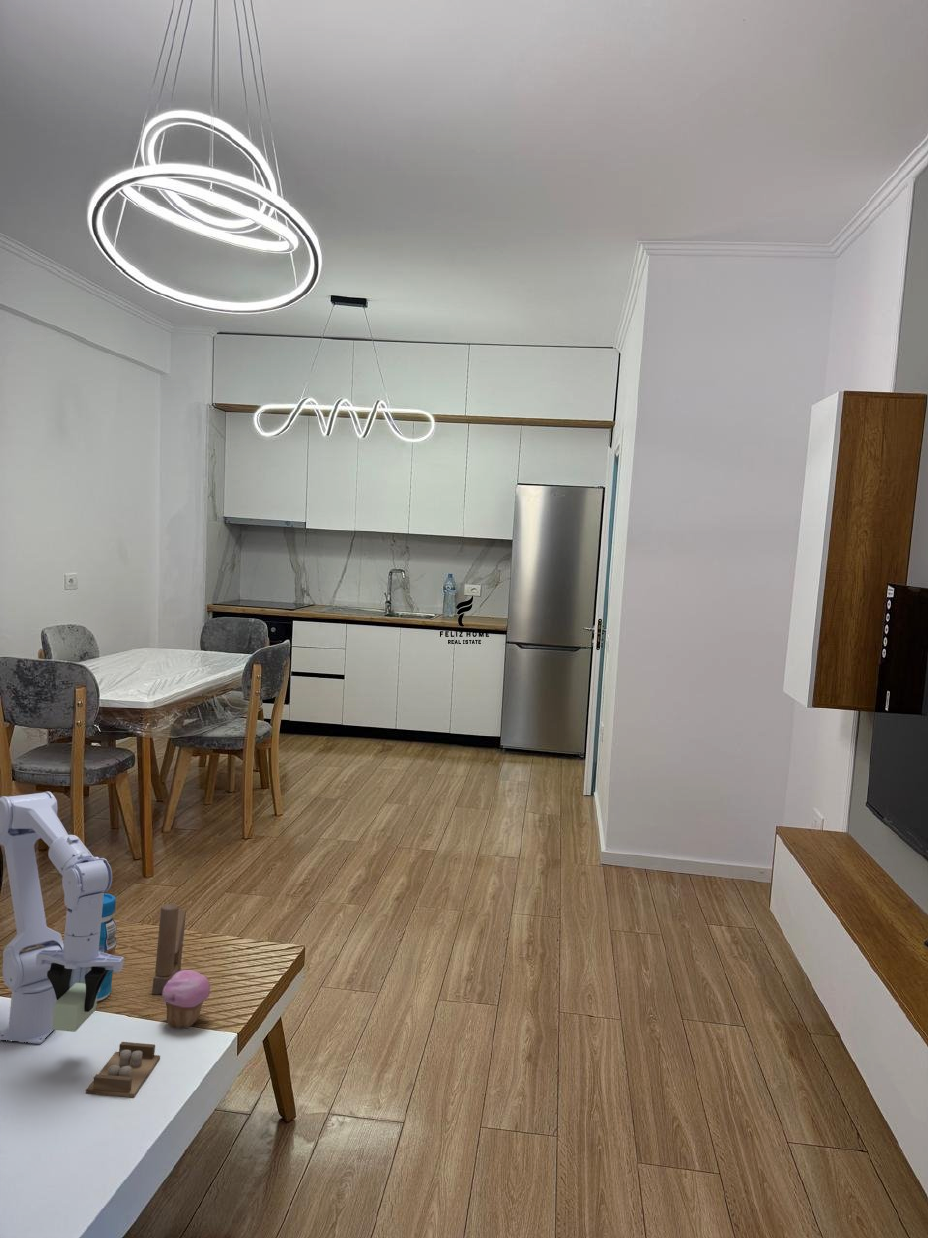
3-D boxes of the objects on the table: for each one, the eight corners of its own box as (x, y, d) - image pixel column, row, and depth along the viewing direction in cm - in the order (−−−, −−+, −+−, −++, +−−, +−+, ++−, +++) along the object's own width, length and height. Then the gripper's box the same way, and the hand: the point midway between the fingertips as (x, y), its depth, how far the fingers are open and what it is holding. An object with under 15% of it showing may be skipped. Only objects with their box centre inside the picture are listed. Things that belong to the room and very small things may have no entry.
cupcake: (174, 1009, 168) (179, 960, 168) (214, 1017, 166) (219, 967, 166) (151, 1030, 159) (155, 978, 159) (192, 1038, 158) (197, 986, 158)
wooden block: (180, 973, 184) (187, 892, 184) (169, 995, 174) (177, 909, 174) (163, 972, 184) (170, 891, 184) (151, 995, 173) (159, 909, 173)
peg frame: (115, 1055, 150) (116, 1040, 150) (159, 1059, 150) (161, 1044, 150) (85, 1093, 138) (87, 1077, 138) (133, 1097, 138) (135, 1082, 138)
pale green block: (73, 1007, 149) (75, 983, 149) (95, 1009, 149) (98, 984, 149) (51, 1030, 141) (54, 1003, 141) (75, 1032, 141) (77, 1005, 141)
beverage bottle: (73, 1008, 165) (82, 908, 165) (61, 991, 171) (70, 894, 171) (117, 999, 170) (126, 901, 170) (104, 982, 177) (113, 889, 177)
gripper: (29, 935, 141) (22, 1015, 141) (114, 943, 141) (107, 1022, 142) (50, 920, 148) (43, 996, 149) (131, 927, 149) (124, 1003, 149)
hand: (75, 1008), depth 145 cm, fingers closed on pale green block, 4 cm apart
